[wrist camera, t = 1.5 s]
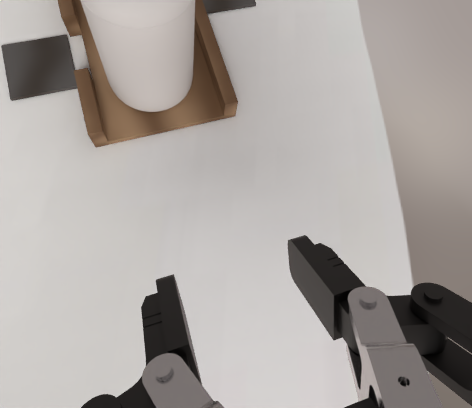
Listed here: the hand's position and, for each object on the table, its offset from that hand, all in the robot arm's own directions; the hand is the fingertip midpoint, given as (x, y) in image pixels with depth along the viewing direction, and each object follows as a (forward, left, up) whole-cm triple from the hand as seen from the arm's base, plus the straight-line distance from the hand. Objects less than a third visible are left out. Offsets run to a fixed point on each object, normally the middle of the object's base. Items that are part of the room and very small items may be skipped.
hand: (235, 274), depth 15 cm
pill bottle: (0, +21, -16) cm, 26 cm away
